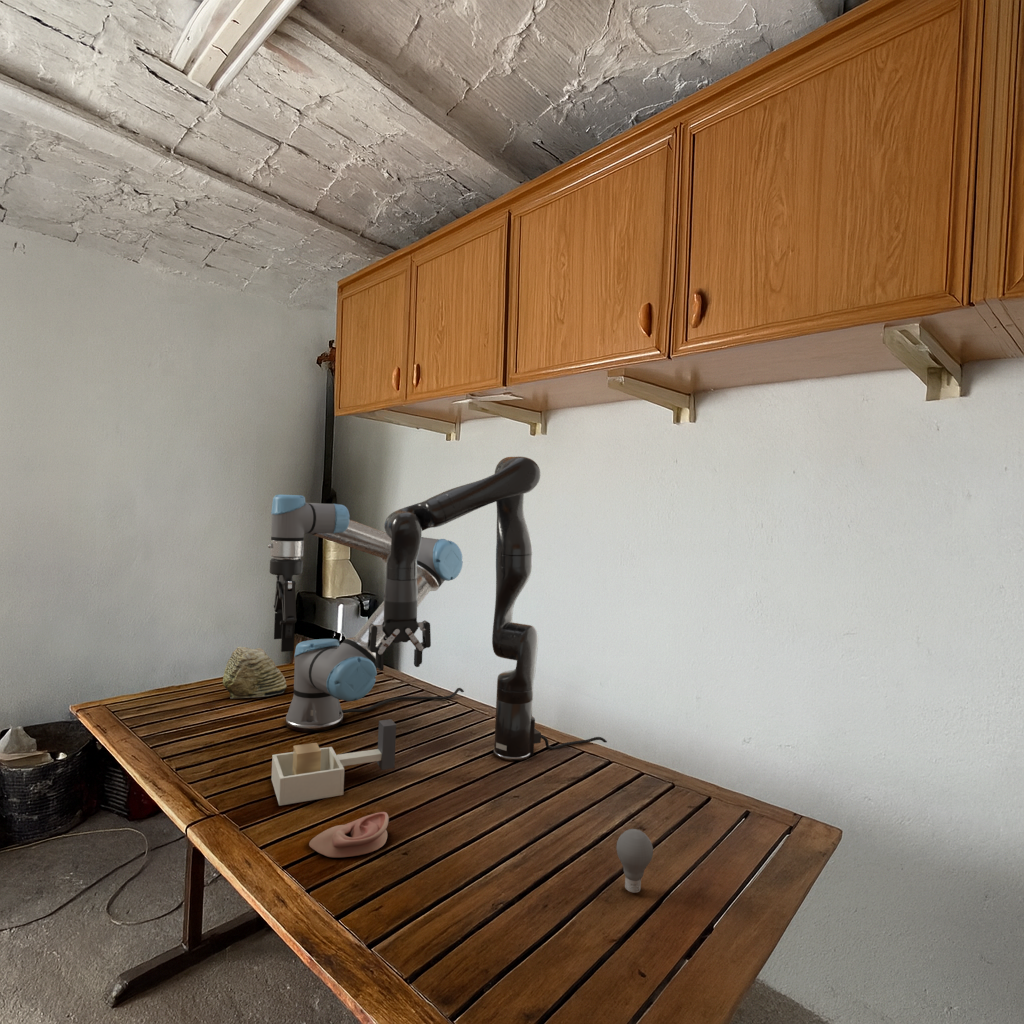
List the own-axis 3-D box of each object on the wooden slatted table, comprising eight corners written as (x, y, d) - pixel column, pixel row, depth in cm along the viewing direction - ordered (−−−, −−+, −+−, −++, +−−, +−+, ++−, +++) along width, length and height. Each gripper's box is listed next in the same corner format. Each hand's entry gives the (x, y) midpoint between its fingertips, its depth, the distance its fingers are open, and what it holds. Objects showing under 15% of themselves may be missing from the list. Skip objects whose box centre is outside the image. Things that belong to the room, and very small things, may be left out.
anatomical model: (300, 830, 112) (331, 801, 124) (300, 852, 112) (331, 821, 124) (370, 841, 110) (395, 810, 121) (369, 864, 110) (395, 831, 121)
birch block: (315, 778, 141) (316, 742, 141) (319, 787, 137) (321, 750, 137) (292, 781, 139) (293, 745, 139) (295, 791, 134) (296, 754, 134)
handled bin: (383, 762, 152) (385, 712, 152) (400, 785, 141) (402, 731, 141) (271, 779, 141) (273, 726, 140) (279, 805, 129) (281, 747, 129)
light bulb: (610, 879, 108) (613, 822, 108) (644, 879, 109) (647, 822, 109) (619, 902, 102) (622, 840, 102) (655, 901, 103) (658, 840, 103)
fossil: (218, 695, 195) (220, 647, 195) (278, 685, 208) (279, 640, 207) (228, 703, 189) (230, 653, 188) (289, 692, 201) (290, 645, 201)
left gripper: (264, 553, 163) (261, 634, 164) (276, 563, 141) (273, 658, 142) (294, 553, 167) (291, 633, 167) (311, 563, 145) (308, 655, 145)
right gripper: (374, 602, 139) (372, 675, 139) (435, 599, 145) (433, 669, 146) (366, 596, 145) (364, 666, 146) (425, 593, 152) (423, 660, 152)
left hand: (283, 644), depth 154 cm, fingers open, 13 cm apart
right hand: (399, 667), depth 146 cm, fingers open, 8 cm apart
